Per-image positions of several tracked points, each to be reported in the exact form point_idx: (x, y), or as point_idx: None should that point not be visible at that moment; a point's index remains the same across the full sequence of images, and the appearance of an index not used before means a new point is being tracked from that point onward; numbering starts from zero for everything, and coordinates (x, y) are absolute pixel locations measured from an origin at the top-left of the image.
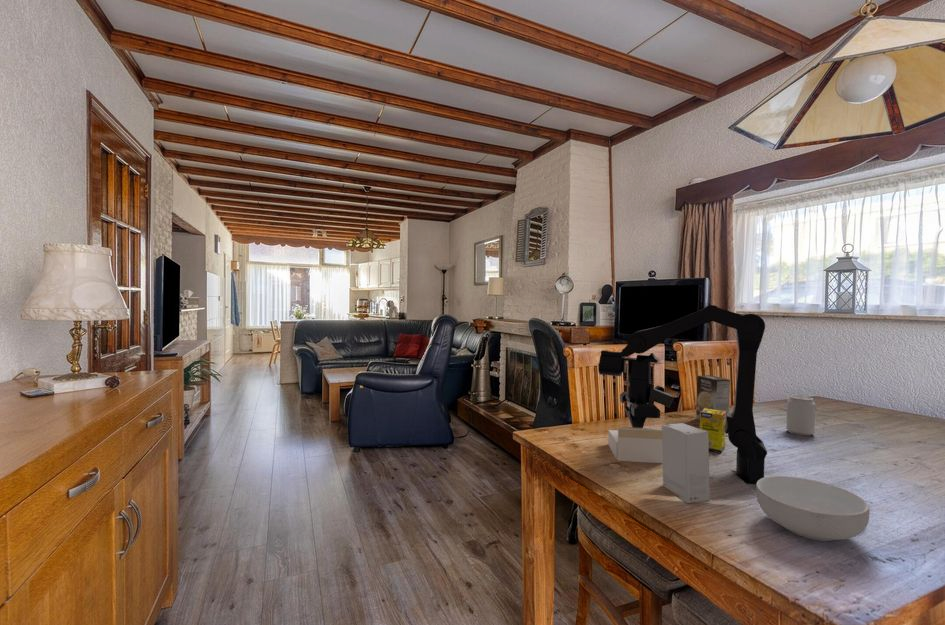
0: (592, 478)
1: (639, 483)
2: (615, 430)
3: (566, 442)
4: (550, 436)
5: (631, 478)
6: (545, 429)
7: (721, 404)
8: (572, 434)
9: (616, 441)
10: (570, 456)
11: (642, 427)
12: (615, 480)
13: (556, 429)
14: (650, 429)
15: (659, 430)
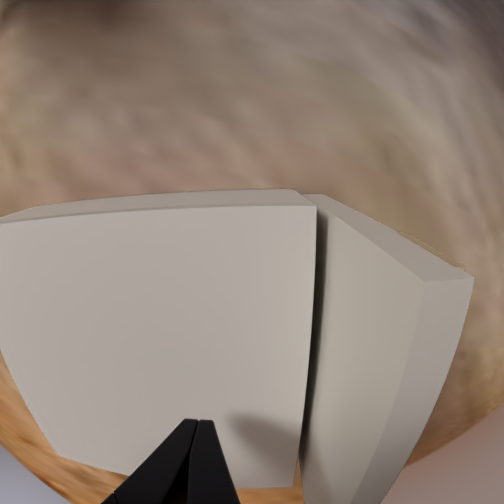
0: (429, 453)
1: (489, 348)
2: (46, 433)
3: (116, 484)
4: (88, 493)
5: (454, 371)
6: (42, 479)
7: None
8: (34, 446)
9: (263, 485)
10: (252, 500)
11: (234, 491)
12: (455, 409)
13: (24, 460)
14: (404, 462)
15: (442, 368)
